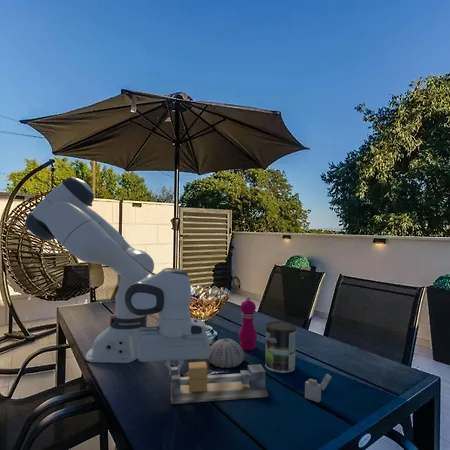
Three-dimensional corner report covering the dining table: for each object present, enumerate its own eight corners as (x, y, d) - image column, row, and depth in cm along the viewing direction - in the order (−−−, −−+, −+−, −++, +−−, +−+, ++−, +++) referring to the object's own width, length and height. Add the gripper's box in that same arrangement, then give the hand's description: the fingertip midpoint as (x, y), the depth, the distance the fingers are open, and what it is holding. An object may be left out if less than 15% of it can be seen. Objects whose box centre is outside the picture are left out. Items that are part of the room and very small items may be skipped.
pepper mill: (255, 351, 127) (256, 299, 127) (237, 349, 128) (237, 298, 128) (257, 344, 134) (258, 295, 134) (240, 343, 135) (240, 294, 135)
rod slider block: (171, 403, 89) (171, 381, 89) (171, 386, 99) (171, 366, 99) (268, 396, 93) (268, 375, 93) (258, 380, 103) (259, 361, 103)
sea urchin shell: (239, 354, 124) (240, 332, 124) (248, 369, 111) (248, 345, 111) (204, 356, 122) (204, 334, 122) (209, 372, 109) (209, 347, 109)
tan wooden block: (189, 391, 92) (189, 369, 92) (188, 383, 97) (188, 362, 97) (207, 390, 93) (207, 368, 93) (205, 382, 98) (205, 361, 98)
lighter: (304, 397, 93) (304, 369, 93) (307, 395, 94) (307, 367, 94) (329, 406, 88) (329, 376, 88) (331, 404, 90) (331, 374, 90)
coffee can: (275, 375, 107) (275, 331, 107) (259, 363, 116) (260, 322, 116) (301, 370, 111) (302, 327, 111) (284, 358, 120) (284, 319, 120)
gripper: (136, 330, 89) (135, 382, 89) (211, 327, 92) (210, 377, 92) (138, 323, 95) (137, 371, 95) (208, 321, 99) (208, 367, 98)
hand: (174, 374), depth 94 cm, fingers closed
